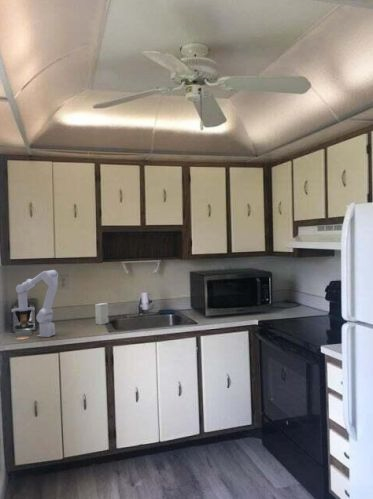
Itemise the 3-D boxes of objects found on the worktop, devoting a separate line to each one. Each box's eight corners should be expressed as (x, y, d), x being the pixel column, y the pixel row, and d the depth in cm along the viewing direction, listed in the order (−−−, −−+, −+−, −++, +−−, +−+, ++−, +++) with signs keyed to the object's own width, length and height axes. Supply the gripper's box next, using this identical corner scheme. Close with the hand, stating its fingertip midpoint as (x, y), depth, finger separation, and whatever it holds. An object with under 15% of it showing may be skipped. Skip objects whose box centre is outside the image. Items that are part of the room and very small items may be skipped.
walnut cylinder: (29, 323, 279) (29, 314, 279) (24, 324, 275) (24, 316, 274) (23, 322, 281) (23, 314, 281) (18, 324, 276) (17, 315, 276)
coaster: (32, 337, 268) (31, 336, 268) (23, 340, 260) (23, 339, 260) (22, 336, 270) (22, 335, 270) (13, 339, 262) (13, 338, 262)
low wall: (31, 334, 274) (31, 330, 273) (31, 335, 273) (31, 330, 272) (15, 336, 270) (15, 331, 270) (15, 336, 270) (15, 332, 269)
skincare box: (101, 324, 298) (100, 304, 297) (95, 324, 301) (94, 304, 301) (109, 322, 305) (108, 302, 304) (103, 321, 308) (102, 302, 308)
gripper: (34, 300, 283) (35, 319, 284) (12, 301, 279) (12, 321, 279) (34, 301, 276) (34, 321, 277) (10, 303, 272) (11, 323, 272)
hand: (23, 321), depth 278 cm, fingers closed on walnut cylinder, 5 cm apart
